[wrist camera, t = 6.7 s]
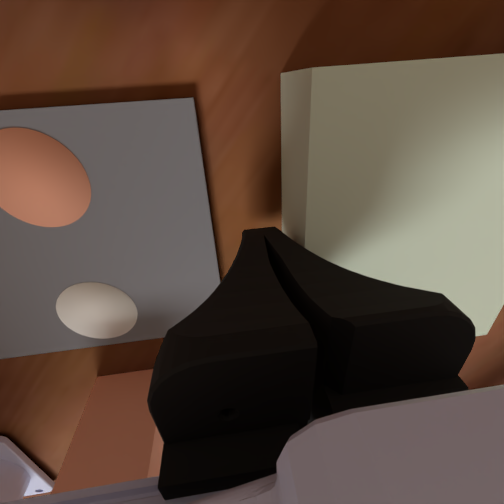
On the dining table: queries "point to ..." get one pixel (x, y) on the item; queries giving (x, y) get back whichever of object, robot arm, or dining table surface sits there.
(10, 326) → the pattern mat
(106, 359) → the dining table surface
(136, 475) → the peg
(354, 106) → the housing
